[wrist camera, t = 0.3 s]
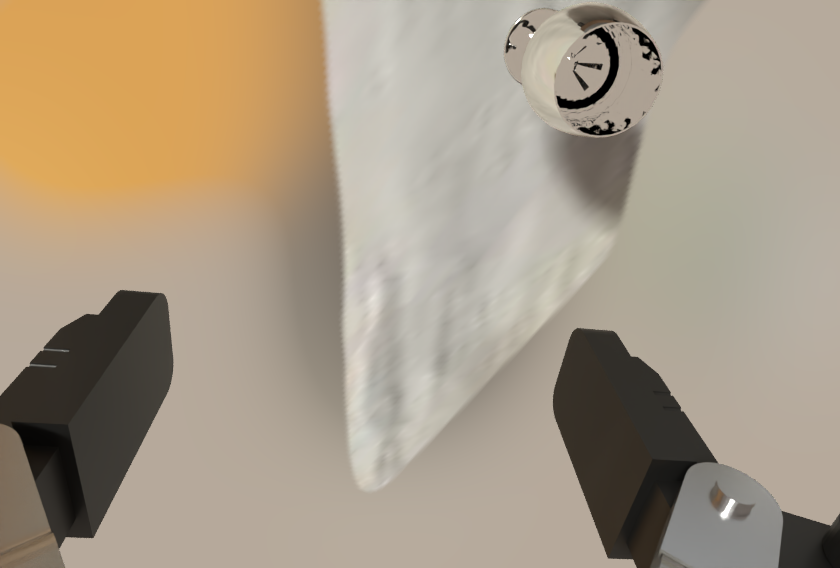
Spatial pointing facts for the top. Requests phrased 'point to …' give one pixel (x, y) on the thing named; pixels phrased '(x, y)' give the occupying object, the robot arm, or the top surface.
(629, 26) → the wineglass
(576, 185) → the top surface
